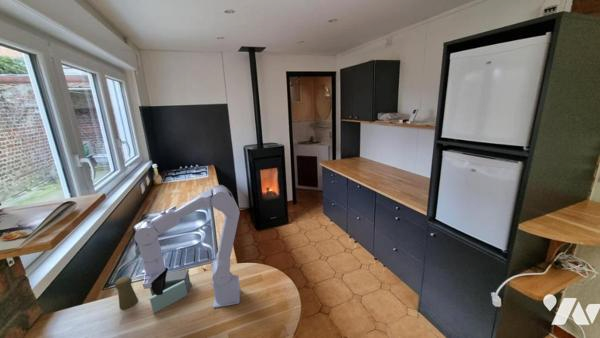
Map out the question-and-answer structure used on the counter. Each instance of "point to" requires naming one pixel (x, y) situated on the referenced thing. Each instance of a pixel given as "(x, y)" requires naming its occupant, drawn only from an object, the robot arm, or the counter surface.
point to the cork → (125, 293)
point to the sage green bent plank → (168, 296)
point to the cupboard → (176, 279)
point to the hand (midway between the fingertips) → (160, 292)
